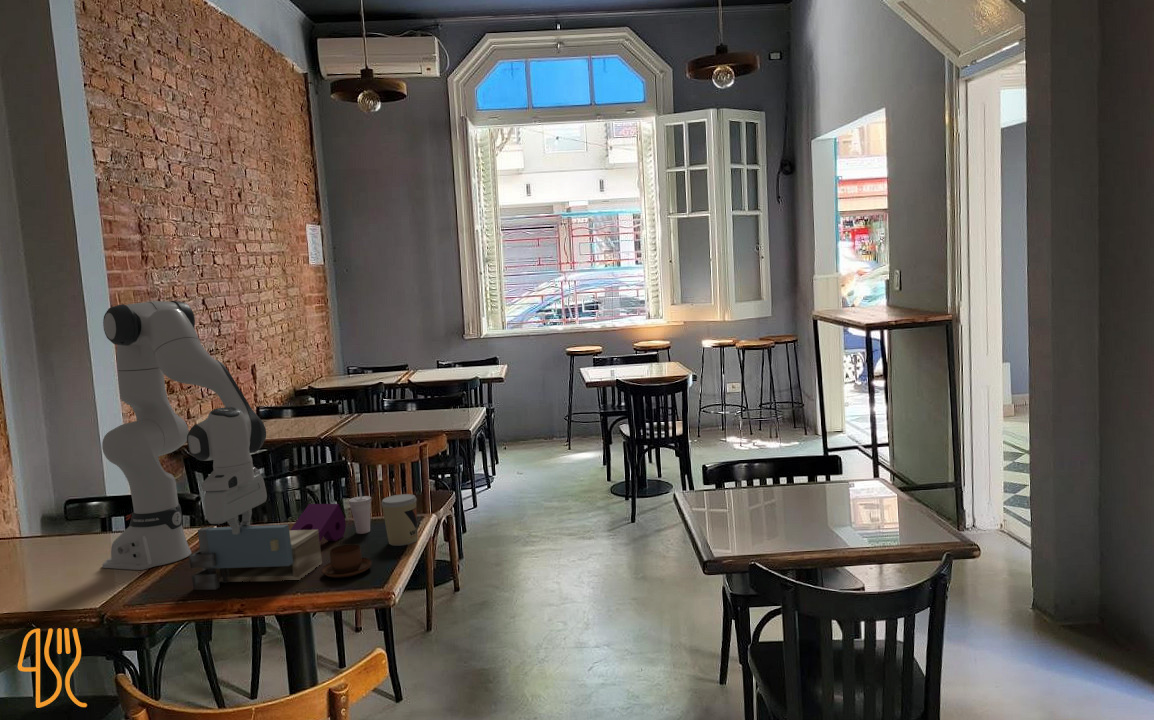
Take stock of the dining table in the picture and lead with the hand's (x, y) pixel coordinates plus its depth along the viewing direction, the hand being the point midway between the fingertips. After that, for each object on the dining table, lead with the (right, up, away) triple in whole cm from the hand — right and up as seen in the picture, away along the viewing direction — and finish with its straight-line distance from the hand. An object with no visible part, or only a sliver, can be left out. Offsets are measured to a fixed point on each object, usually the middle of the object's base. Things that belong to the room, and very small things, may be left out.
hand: (241, 531), depth 206 cm
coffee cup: (+34, -8, +27) cm, 44 cm away
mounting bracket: (+8, -10, +30) cm, 33 cm away
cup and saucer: (+25, -11, +4) cm, 27 cm away
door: (+1, -9, 0) cm, 9 cm away
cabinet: (+2, -13, +7) cm, 14 cm away
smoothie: (+20, -8, +39) cm, 45 cm away
